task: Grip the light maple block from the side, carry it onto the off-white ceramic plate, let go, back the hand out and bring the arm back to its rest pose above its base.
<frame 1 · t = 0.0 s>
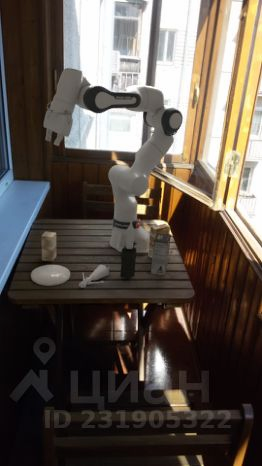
hand: (51, 143, 157), 52 cm above the table, tool tilted 20°, fingers open, 8 cm apart
candy box: (157, 256, 187), on the table
maple block: (49, 258, 177), on the table
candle: (127, 276, 167), on the table
plate: (50, 275, 162), on the table
woman figurine: (94, 280, 162), on the table
coffee box: (159, 270, 174), on the table
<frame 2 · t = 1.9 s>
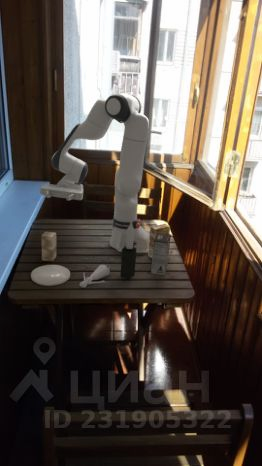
hand: (57, 197, 177), 26 cm above the table, tool horizontal, fingers open, 8 cm apart
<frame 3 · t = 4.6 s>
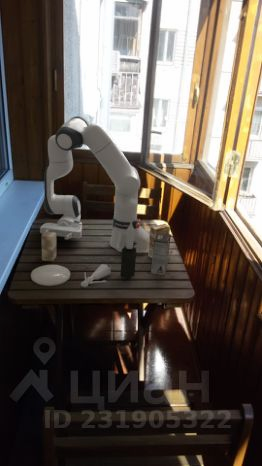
hand: (56, 236, 183), 6 cm above the table, tool horizontal, fingers open, 8 cm apart
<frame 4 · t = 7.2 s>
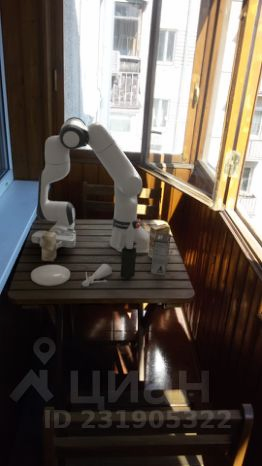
hand: (48, 246, 173), 7 cm above the table, tool horizontal, fingers closed on maple block, 5 cm apart
maple block: (49, 258, 177), on the table, touching gripper
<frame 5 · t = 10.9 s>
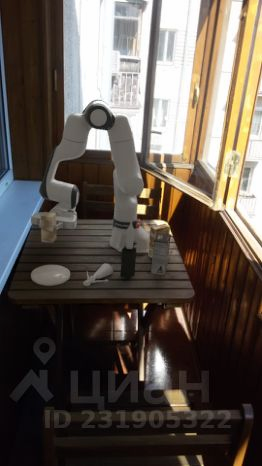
hand: (48, 227, 167), 17 cm above the table, tool horizontal, fingers closed on maple block, 5 cm apart
maple block: (49, 240, 170), point 10 cm above the table, touching gripper
when the fingers open (9 cm above the table, at t = 14.7 s): maple block drops 1 cm, resting on plate.
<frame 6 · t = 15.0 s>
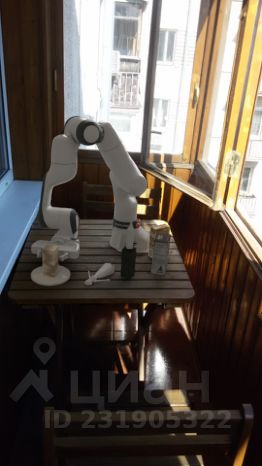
hand: (49, 257, 158), 9 cm above the table, tool horizontal, fingers open, 8 cm apart
maple block: (50, 273, 162), point 1 cm above the table, touching plate
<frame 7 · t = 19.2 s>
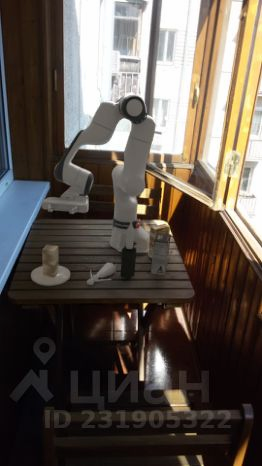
hand: (60, 211, 164), 25 cm above the table, tool horizontal, fingers open, 8 cm apart
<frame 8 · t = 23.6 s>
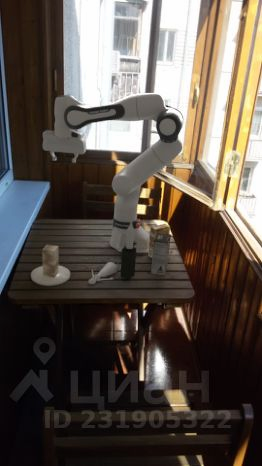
hand: (64, 161, 184), 39 cm above the table, tool pointing down, fingers open, 8 cm apart
at the end: maple block inside the target area on the plate (0.0 cm from its centre), point 1.0 cm above the plate's base; maple block tilted 0°; the gripper is holding nothing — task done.
